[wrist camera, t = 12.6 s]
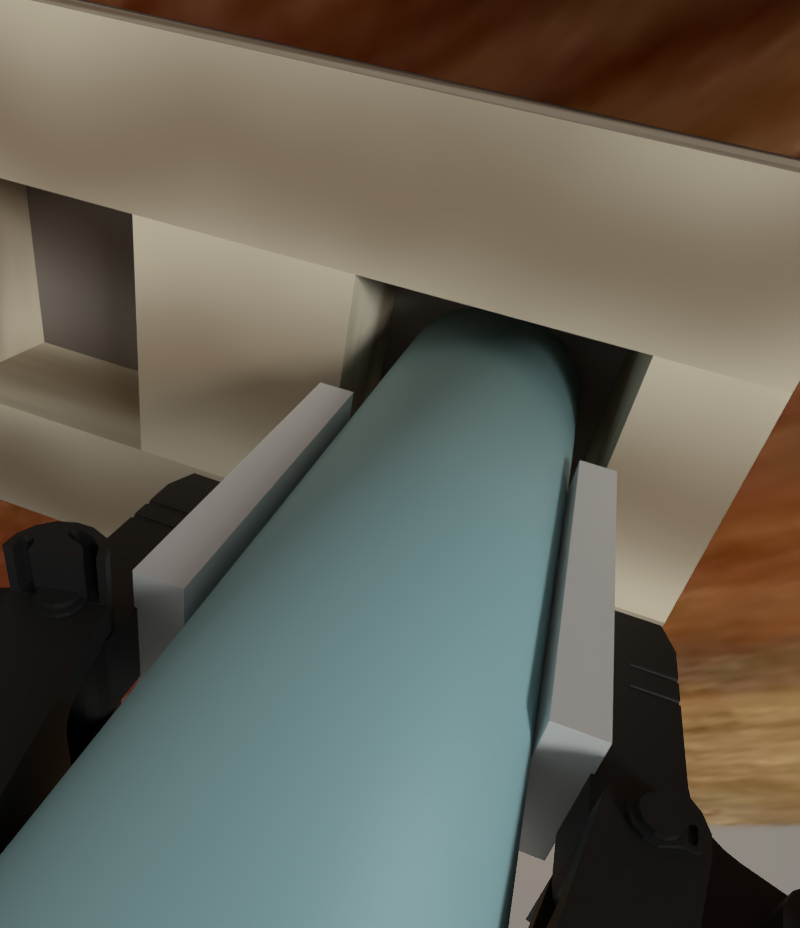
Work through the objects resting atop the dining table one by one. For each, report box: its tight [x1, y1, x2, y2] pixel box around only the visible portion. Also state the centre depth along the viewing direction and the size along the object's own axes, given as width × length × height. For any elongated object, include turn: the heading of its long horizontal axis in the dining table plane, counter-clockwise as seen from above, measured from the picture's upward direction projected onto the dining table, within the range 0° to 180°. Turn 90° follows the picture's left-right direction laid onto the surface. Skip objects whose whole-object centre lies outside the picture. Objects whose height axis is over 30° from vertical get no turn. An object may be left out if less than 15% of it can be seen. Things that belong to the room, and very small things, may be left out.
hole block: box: [0, 0, 800, 627], centre depth 19 cm, size 14×24×5 cm, turn 79°
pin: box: [0, 307, 580, 928], centre depth 12 cm, size 5×5×16 cm
